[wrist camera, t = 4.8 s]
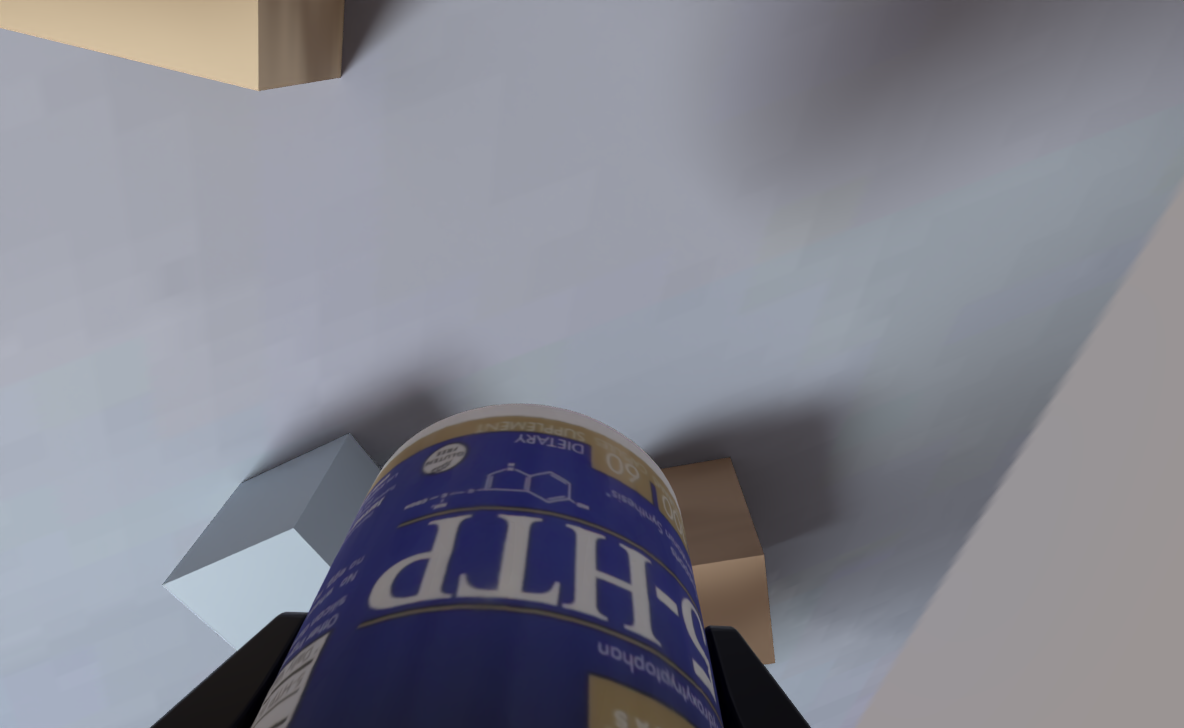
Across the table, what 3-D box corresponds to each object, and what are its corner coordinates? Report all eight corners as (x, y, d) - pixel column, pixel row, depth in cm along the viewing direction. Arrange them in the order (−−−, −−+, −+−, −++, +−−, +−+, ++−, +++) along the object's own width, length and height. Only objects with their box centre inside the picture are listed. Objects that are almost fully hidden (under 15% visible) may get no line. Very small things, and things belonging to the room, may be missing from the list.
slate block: (427, 526, 25) (393, 633, 20) (324, 569, 26) (270, 680, 21) (350, 431, 22) (293, 528, 18) (241, 482, 23) (161, 585, 19)
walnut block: (741, 554, 25) (775, 662, 21) (621, 572, 26) (628, 683, 21) (729, 456, 23) (763, 554, 19) (597, 478, 24) (600, 580, 19)
